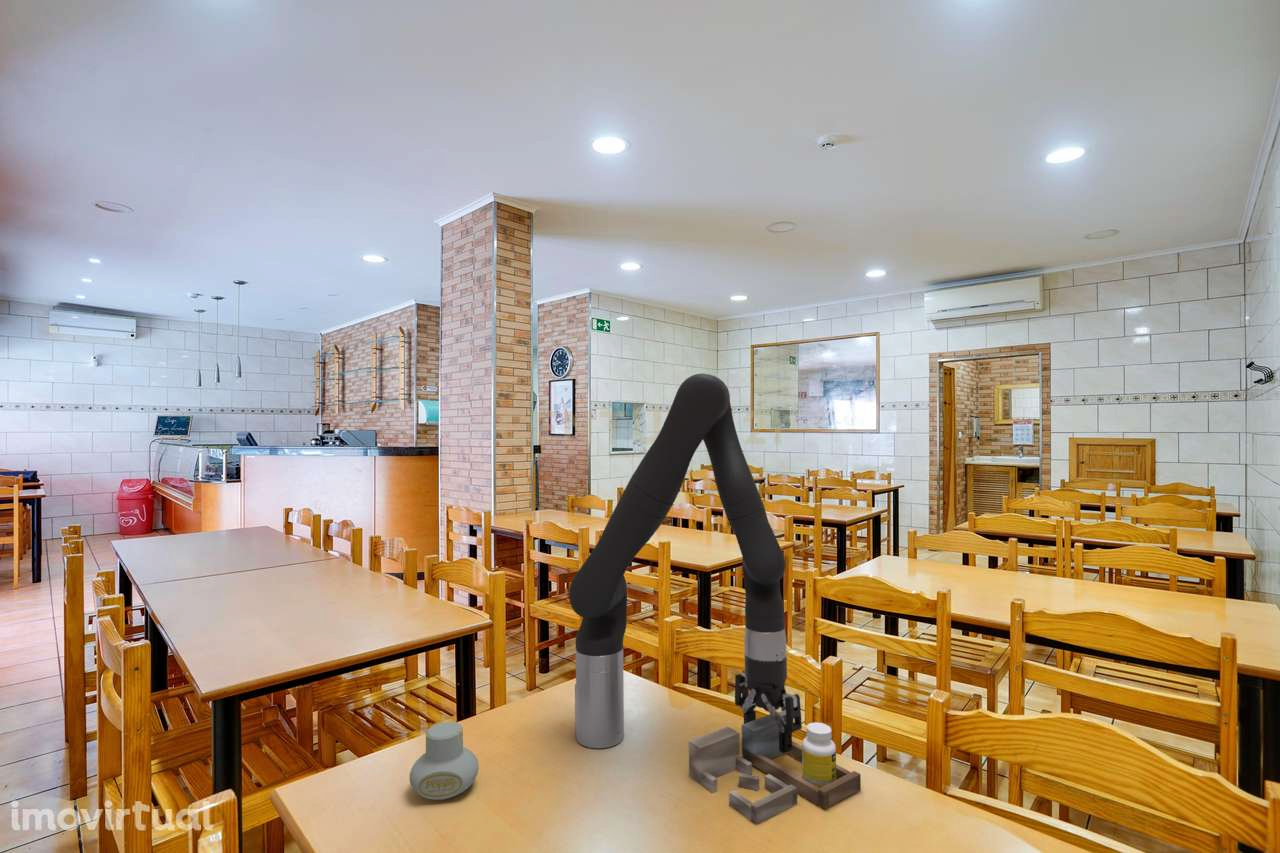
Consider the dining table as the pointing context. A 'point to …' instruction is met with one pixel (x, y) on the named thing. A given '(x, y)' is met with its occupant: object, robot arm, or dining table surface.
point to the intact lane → (764, 745)
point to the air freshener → (444, 764)
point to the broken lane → (723, 756)
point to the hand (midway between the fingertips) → (767, 741)
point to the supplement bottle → (818, 755)
